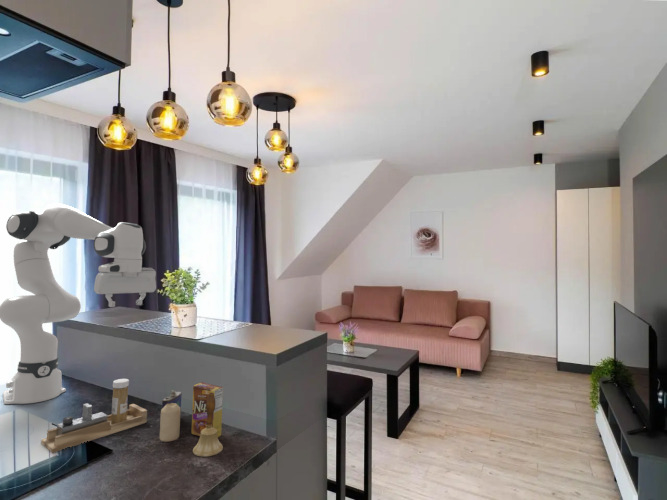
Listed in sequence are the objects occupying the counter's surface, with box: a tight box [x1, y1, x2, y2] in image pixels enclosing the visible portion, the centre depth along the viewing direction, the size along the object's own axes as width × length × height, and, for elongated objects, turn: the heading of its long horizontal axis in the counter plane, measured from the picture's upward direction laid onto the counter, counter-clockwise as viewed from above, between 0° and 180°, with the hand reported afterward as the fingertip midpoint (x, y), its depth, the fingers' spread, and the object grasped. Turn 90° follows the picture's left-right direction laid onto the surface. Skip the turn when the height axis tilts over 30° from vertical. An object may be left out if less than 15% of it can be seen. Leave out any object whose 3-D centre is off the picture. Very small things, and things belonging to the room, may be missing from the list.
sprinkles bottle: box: [111, 378, 130, 424], centre depth 120 cm, size 5×5×13 cm
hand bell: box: [192, 393, 224, 458], centre depth 107 cm, size 8×8×16 cm
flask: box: [161, 389, 182, 419], centre depth 123 cm, size 9×3×11 cm, turn 171°
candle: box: [159, 403, 182, 443], centre depth 113 cm, size 6×6×10 cm
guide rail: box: [40, 403, 148, 454], centre depth 115 cm, size 9×26×4 cm, turn 144°
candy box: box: [191, 381, 224, 438], centre depth 116 cm, size 9×4×15 cm, turn 65°
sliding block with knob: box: [56, 402, 108, 436], centre depth 112 cm, size 4×12×8 cm, turn 144°
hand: (125, 305), depth 133 cm, fingers open, 8 cm apart
